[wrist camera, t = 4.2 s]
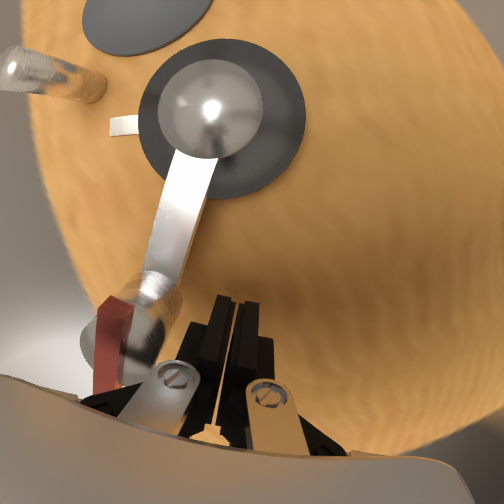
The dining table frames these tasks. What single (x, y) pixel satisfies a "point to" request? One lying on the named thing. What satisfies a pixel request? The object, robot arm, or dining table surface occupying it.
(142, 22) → the mat
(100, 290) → the dining table surface
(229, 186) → the crank housing
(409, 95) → the dining table surface
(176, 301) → the crank
